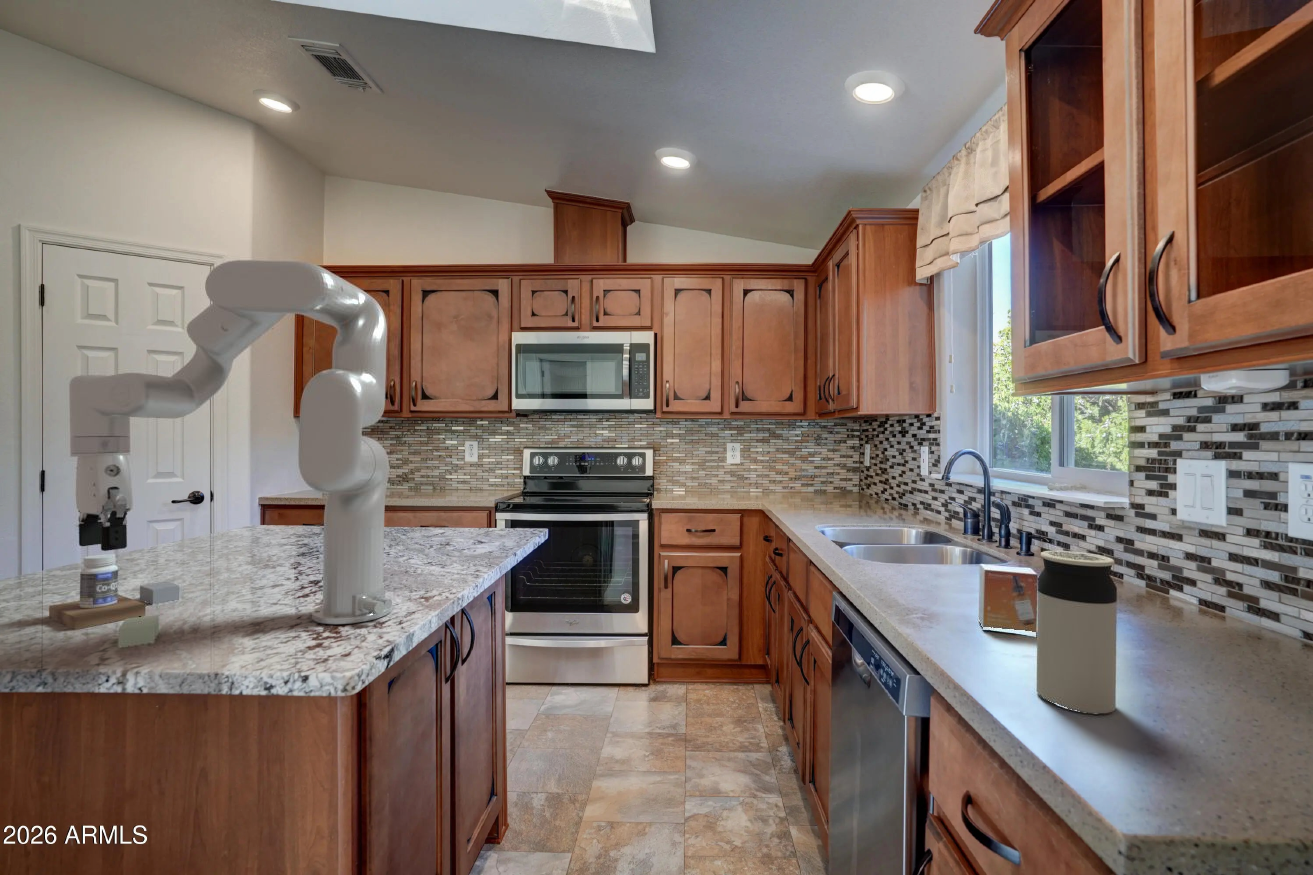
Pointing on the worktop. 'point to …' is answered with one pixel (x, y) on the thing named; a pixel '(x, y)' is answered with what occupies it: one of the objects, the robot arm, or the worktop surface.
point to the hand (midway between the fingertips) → (102, 547)
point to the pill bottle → (98, 581)
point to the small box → (1008, 597)
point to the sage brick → (138, 631)
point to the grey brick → (159, 592)
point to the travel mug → (1077, 631)
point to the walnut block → (95, 613)
